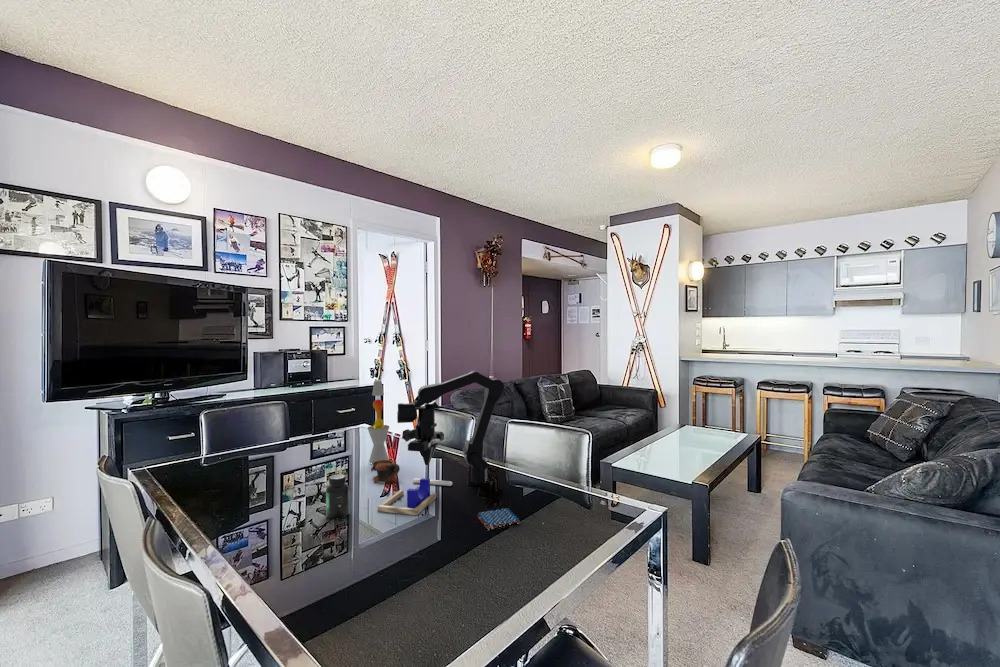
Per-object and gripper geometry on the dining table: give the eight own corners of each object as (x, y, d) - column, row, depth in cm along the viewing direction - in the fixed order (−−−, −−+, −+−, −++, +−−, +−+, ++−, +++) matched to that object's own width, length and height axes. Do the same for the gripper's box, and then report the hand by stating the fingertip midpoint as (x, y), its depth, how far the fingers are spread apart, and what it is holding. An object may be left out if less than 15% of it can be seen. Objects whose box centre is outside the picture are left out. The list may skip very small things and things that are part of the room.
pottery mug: (365, 484, 174) (366, 462, 178) (379, 488, 182) (379, 466, 186) (394, 478, 171) (394, 455, 175) (407, 482, 179) (406, 460, 183)
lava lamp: (366, 460, 203) (365, 380, 203) (387, 457, 207) (386, 378, 206) (370, 466, 195) (368, 382, 194) (391, 463, 199) (390, 380, 198)
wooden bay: (436, 497, 158) (436, 493, 158) (416, 515, 144) (416, 510, 144) (400, 494, 162) (400, 489, 162) (377, 511, 147) (377, 506, 147)
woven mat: (475, 518, 142) (475, 511, 142) (508, 513, 146) (508, 506, 146) (486, 532, 132) (486, 525, 132) (521, 526, 136) (521, 519, 136)
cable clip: (417, 495, 161) (417, 478, 161) (430, 496, 160) (429, 478, 160) (402, 508, 149) (402, 490, 149) (416, 509, 148) (415, 490, 148)
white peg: (453, 485, 170) (453, 480, 170) (451, 486, 169) (451, 482, 169) (413, 481, 175) (413, 477, 174) (412, 483, 173) (411, 478, 173)
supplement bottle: (325, 520, 140) (324, 481, 140) (327, 512, 147) (326, 474, 147) (349, 518, 142) (348, 478, 142) (350, 509, 149) (349, 472, 148)
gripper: (417, 415, 179) (417, 456, 179) (393, 425, 161) (394, 471, 161) (444, 416, 176) (444, 458, 176) (423, 427, 158) (423, 473, 158)
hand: (427, 464), depth 168 cm, fingers closed
